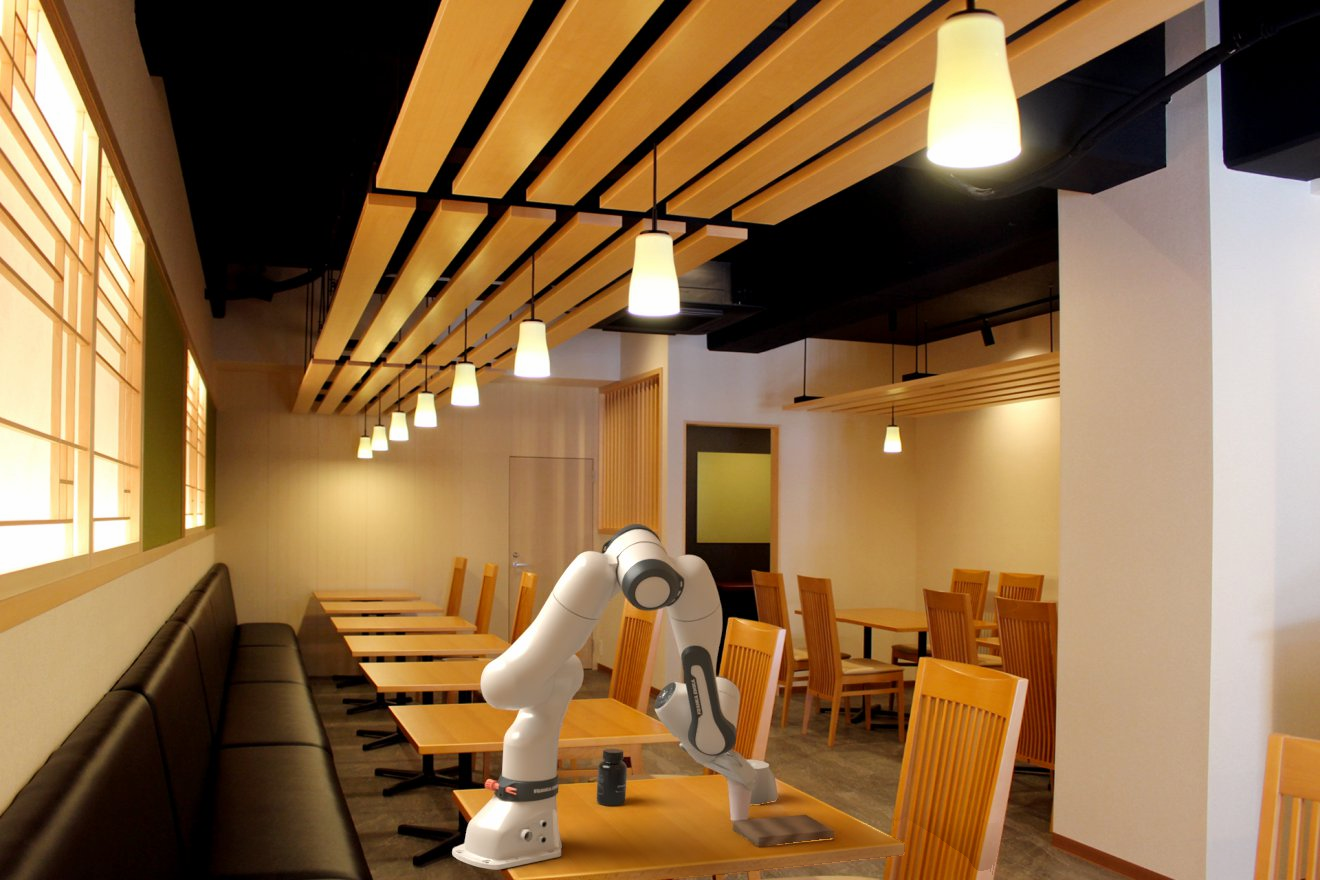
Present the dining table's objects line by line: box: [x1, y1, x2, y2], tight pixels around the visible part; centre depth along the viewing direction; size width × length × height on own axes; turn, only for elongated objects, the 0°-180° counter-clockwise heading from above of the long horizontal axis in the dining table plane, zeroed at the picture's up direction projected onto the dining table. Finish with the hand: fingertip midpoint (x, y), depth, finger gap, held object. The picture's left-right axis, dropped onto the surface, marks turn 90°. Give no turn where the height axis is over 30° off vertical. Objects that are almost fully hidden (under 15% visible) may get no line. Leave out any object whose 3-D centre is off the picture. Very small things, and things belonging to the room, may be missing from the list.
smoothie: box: [725, 777, 755, 822], centre depth 237 cm, size 6×6×14 cm
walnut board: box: [732, 814, 835, 848], centre depth 227 cm, size 18×12×2 cm, turn 112°
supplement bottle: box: [596, 748, 628, 807], centre depth 247 cm, size 7×7×12 cm
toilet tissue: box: [745, 759, 779, 804], centre depth 254 cm, size 9×13×9 cm
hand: (742, 784), depth 237 cm, fingers closed on smoothie, 6 cm apart
